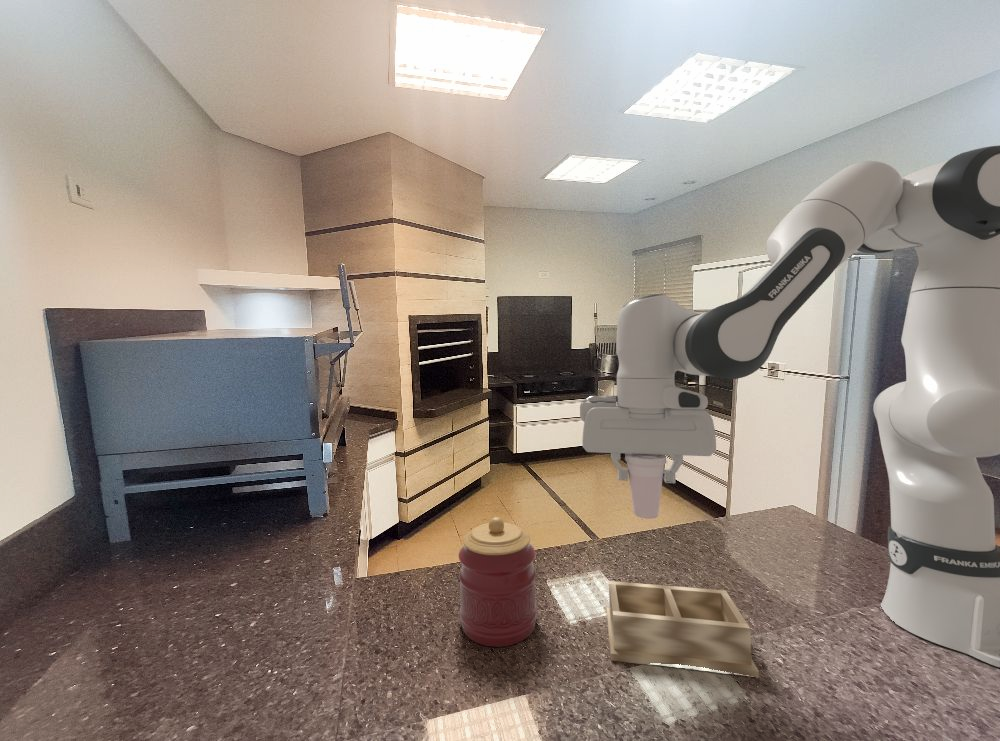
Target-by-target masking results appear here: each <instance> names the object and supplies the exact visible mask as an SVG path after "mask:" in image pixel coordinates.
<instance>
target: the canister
mask: <svg viewBox="0 0 1000 741" xmlns="http://www.w3.org/2000/svg"><path fill="white" fill-rule="evenodd" d="M530 536H531V535H530V534H529V533H528V532H527V531H526V530H524V529H522V528H521V527H519V526H518V525H516V524H513V523H509V522H504V520H503V518H501V517H499V516H494V517H491V519H490V520H489V522H486V523H482V524H479V525H477V526H475V527H474V528H473V529H472V530H470V531H469V532H467V533H466V534H465V535H464V537H463V538H462V539H463V540H462V542H463V546H461V548H460V550H459V551H458V555H457V556H458V561H459V562H460V564H461V568H460V569H459V572H458V579H459V584H460V585H459V586H460V588H459V590H460V591H459V592H460V593H459V594H460V608H459V620H460V623H461V628H462V631H463V633H464V635H465V636H466V637H467V638H468V639H469V640H471V641H473V642H475V643H477V644H480V645H483V646H487V647H496V648H497V647H498V648H499V647H507V646H512V645H514V644H515V645H516V644H518V643H520V642H523V641H524V640H525V639H527V638H528V637H529V636H531V634H532V633H533V632H534V630H535V627H536V623H537V618H538V607H537V603H536V602H537V599H536V597H537V596H536V577H537V570H536V568H535V566H534V564H533V562H534V560H535V558H536V553H537V552H536V549H535V547H534V546H533V545H532V544H531V543H530V542H531V537H530Z"/></svg>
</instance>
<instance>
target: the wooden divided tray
mask: <svg viewBox="0 0 1000 741" xmlns="http://www.w3.org/2000/svg"><path fill="white" fill-rule="evenodd" d="M608 593H609V594H608V595H609V599H608V600H609V603H608V604H609V606H606V610H605V612H606V622H607V630H608V644H609V652H610V660H611V661H613V662H621V663H628V664H629V663H630V664H638V665H644V664H650V663H661V664H679V665H680V664H681V665H688V666H689V665H690V666H696V667H703V668H704V667H705V668H709V669H712V670H713V669H714V670H718V671H719V670H720V671H724V672H725V671H726V672H730V673H731V672H732V673H739V674H743V675H749V676H754V677H759V678H760V671H759V669H758V667H757V665H756V663H755V662H754V660H753V659H752V637H751V636H752V635H751V628H750V626H749V623H748V622H747V621H746V620H745V617H743V615H742V614H741V612H740V610H739V609H738V607H737V605H736V604H735V602H734V601H733V600H732V597H731V596H730V595H729V593H728V592H727V590H726V589H725V590H723V589H713V588H712V589H710V588H698V587H687V586H676V585H675V586H674V585H663V584H651V583H639V582H638V583H637V582H629V581H628V582H626V581H624V582H623V581H617V580H616V581H613V580H608Z"/></svg>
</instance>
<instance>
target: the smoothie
mask: <svg viewBox="0 0 1000 741" xmlns="http://www.w3.org/2000/svg"><path fill="white" fill-rule="evenodd" d="M624 460H625V462H626V464H627V466H626V467H627V470H628V481H629V486H630V495H631V501H632V510H633V514H634V516H636V517H638V518H641V519H656V518H658V517H659V511H660V510H659V509H660V501H661V494H662V486H663V480H664V470H665V465H666V464H667V455H657V454H629V453H624Z"/></svg>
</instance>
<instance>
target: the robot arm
mask: <svg viewBox="0 0 1000 741" xmlns="http://www.w3.org/2000/svg"><path fill="white" fill-rule="evenodd" d="M901 176H902V175H900V173H899V172H898V170H896V168H894V167H893V166H891V165H890V164H887V163H885V162H881V161H875V160H867V161H860V162H856V163H854V164H850V165H848V166H846V167H845V168H842V169H841V170H839V171H838V172H836V173H835V174H833V175H832V176H831V177H829V178H828V179H826V180H825V181H823V182H822V183H821V184H819V185H818V186H817V187H816V188H814V190H812V191H811V192H810V193H809V194H807V195H805V197H804V198H802V200H800V201H799V202H798V203H797V204H796V205H795V206H794V207H793V208H791V210H790V211H789V212H788V213H787V214H786V215H785V216H784V217H783V218H782V219H781V220H780V221H779V222H778V224H777V225H776V226H775V228H774V229H773V230H772V232H771V234H770V235H769V237H768V238H767V240H766V248H765V250H766V254H767V258H768V260H769V261H770V263H771V264H772V265H770V267H769V268H768V269H767V270H766V271H765V272H764V273H763V274H762V275H761V276H760V277H759V278H757V280H756V281H755V282H754V283H753V284H752V285H751V286H750V287H749V288H748V289H747V290H746V292H745V293H744V294H742V295H741V296H740V297H739V298H737V299H735V300H732V301H730V302H728V303H724V304H721V305H719V306H717V307H714V308H712V309H710V310H708V311H706V312H703V313H702V312H697V311H694V310H693V309H689V308H687V307H685V306H683V305H681V304H679V303H677V301H676V302H675V301H674V300H673V299H671V298H670V297H669V296H668V294H663V293H660V294H659V293H658V294H657V293H656V294H655V293H654V294H649V295H643V296H642V297H638V298H633V299H632V300H630V301H629V302H627V303H626V304H624V305H623V306H622V307H621V309H620V310H619V314H618V317H617V323H616V324H617V325H616V342H615V344H616V345H615V346H616V349H615V350H616V355H617V358H618V370H617V373H616V395H601V396H599V395H590V396H589V397H587V398H584V399H583V400H582V401H581V403H580V405H579V416H580V419H581V420H582V421H583V422H584V423H583V430H582V439H581V440H582V443H581V444H582V448H583V449H584V450H585V452H587V453H606V454H607V453H608V454H609V453H610V459H611V461H612V462H613V465H614V466H615V467H616V470H617V480H618V481H620V482H621V481H623V482H625V481H627V482H628V481H629V473H628V467H622V466H621V464H620V462H619V460H621V454H626V453H629V454H657V455H665V456H670V459H671V460H672V461H673V462H672V463H671V464H670V466H669V469H664V471H663V481H664V483H666V484H676V480H677V479H676V473H677V472H678V471H679V469H680V468H681V466H682V465H683V462H684V456H686V457H687V456H691V457H693V456H694V457H711V456H712V455H713V454H714V453H715V452H716V451H717V437H716V436H717V435H716V429H715V423H714V420H713V417H712V416H711V414H710V412H708V411H706V410H705V409H707V407H708V404H709V400H708V397H707V396H706V395H705V394H701V393H700V392H695V391H692V390H689V389H688V388H685V387H681V386H680V387H678V386H676V385H675V381H676V380H675V376H676V375H675V374H676V372H677V371H678V372H682V373H685V374H687V375H695V376H705V377H706V376H707V377H714V378H718V379H723V380H736V379H737V380H738V379H741V378H745V377H748V376H749V375H752V374H753V373H755V372H757V371H758V370H760V368H761V367H762V366H763V365H764V364H765V363H766V362H767V360H768V359H769V357H770V355H771V354H772V351H773V350H774V347H775V344H776V341H777V340H778V337H779V336H780V333H781V331H782V330H783V328H784V326H785V325H786V324H787V323H788V322H789V320H790V319H791V318H792V317H793V316H794V315H795V314H796V313H797V312H798V311H799V310H800V308H801V307H802V306H803V305H804V304H805V303H806V302H807V301H808V300H809V299H810V298H811V297H812V295H813V294H815V293H816V292H817V290H818V289H819V288H820V287H821V286H822V285H823V284H824V283H825V282H826V280H827V279H828V278H830V276H831V275H832V274H833V273H834V271H835V270H836V269H837V268H838V267H840V266H841V265H842V264H843V263H845V261H847V260H848V259H849V258H850V257H851V256H852V255H853V254H855V252H860V253H866V254H885V253H889V252H893V251H894V250H899V249H908V248H912V247H914V251H915V253H916V255H917V258H918V265H917V267H916V270H915V273H914V276H913V280H912V285H911V287H910V292H909V297H908V303H907V308H906V314H905V318H904V323H903V327H902V328H903V329H902V334H901V337H900V340H901V341H900V342H901V345H902V348H903V351H904V356H905V372H906V374H905V376H906V377H905V378H906V379H905V381H901V382H897V383H895V384H894V385H891V386H889V387H887V388H886V389H884V390H882V391H881V392H880V393H879V394H878V395H877V396H876V398H875V400H874V402H873V407H872V408H873V409H872V410H873V414H874V417H875V420H876V423H877V427H878V428H877V429H878V434H879V438H880V445H881V450H882V454H883V458H884V463H885V467H886V470H887V476H888V482H889V483H888V486H889V502H890V525H889V526H888V527H887V549H888V557H889V562H890V565H889V575H888V580H887V586H886V589H885V594H884V597H883V598H882V601H881V602H880V605H881V607H882V609H883V610H884V612H885V613H886V614H887V615H888V616H889V617H890V619H891V620H892V621H891V620H890V619H889V620H890V621H891V622H893V621H894V622H895V623H894V622H893V623H894V624H895V625H897V626H899V627H901V628H902V629H904V630H905V631H907V632H909V633H911V634H913V635H915V636H918V637H920V638H922V639H924V640H926V641H929V642H931V643H933V644H937V645H939V646H942V647H945V648H949V649H951V650H954V651H957V652H960V653H962V654H963V653H964V654H966V655H969V656H971V657H973V658H976V659H977V660H980V661H982V662H984V663H987V664H989V665H991V666H994V667H997V668H1000V545H998V544H996V530H995V529H996V526H995V523H996V522H995V504H994V502H995V499H994V495H993V493H992V490H991V487H989V485H988V484H987V481H986V480H985V478H984V476H983V474H982V471H981V468H980V465H979V462H978V460H977V458H988V457H994V456H998V455H1000V145H991V146H986V147H985V146H983V147H980V148H976V149H971V150H967V151H965V152H961V153H959V154H957V155H954V156H953V157H951V158H949V159H946V160H943V161H941V162H937V163H934V164H932V165H928V166H925V167H922V168H920V169H918V170H916V171H912V172H911V173H908V174H907V175H905V176H903V177H901ZM881 607H880V608H881Z"/></svg>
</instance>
